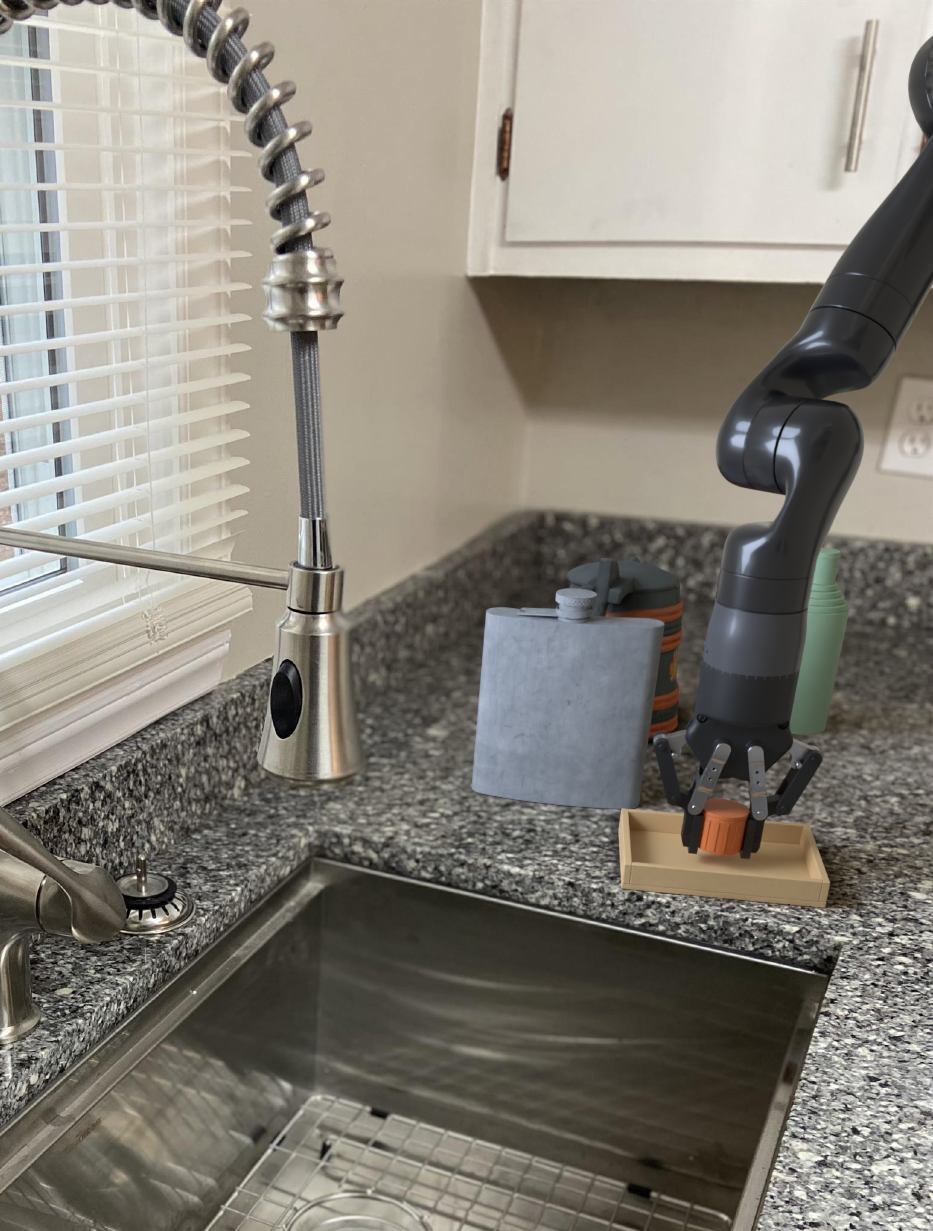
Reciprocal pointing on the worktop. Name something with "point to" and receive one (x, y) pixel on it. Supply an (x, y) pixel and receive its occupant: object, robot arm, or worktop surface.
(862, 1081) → the worktop surface
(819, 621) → the bottle
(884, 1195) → the worktop surface
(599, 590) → the beer stein
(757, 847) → the robot arm
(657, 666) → the hip flask
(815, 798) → the worktop surface
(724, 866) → the tray
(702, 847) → the cap
